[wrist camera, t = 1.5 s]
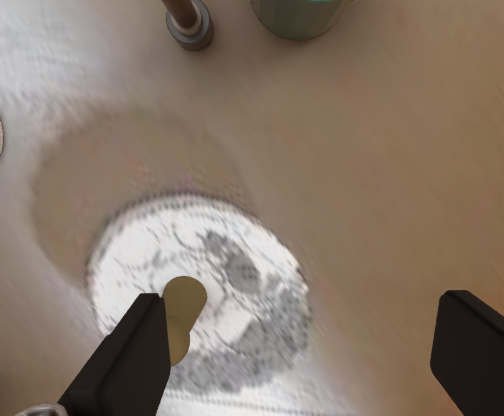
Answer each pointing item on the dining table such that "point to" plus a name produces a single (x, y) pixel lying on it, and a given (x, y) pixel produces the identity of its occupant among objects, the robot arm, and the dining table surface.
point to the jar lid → (317, 1)
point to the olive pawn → (182, 313)
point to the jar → (298, 17)
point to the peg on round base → (189, 23)
